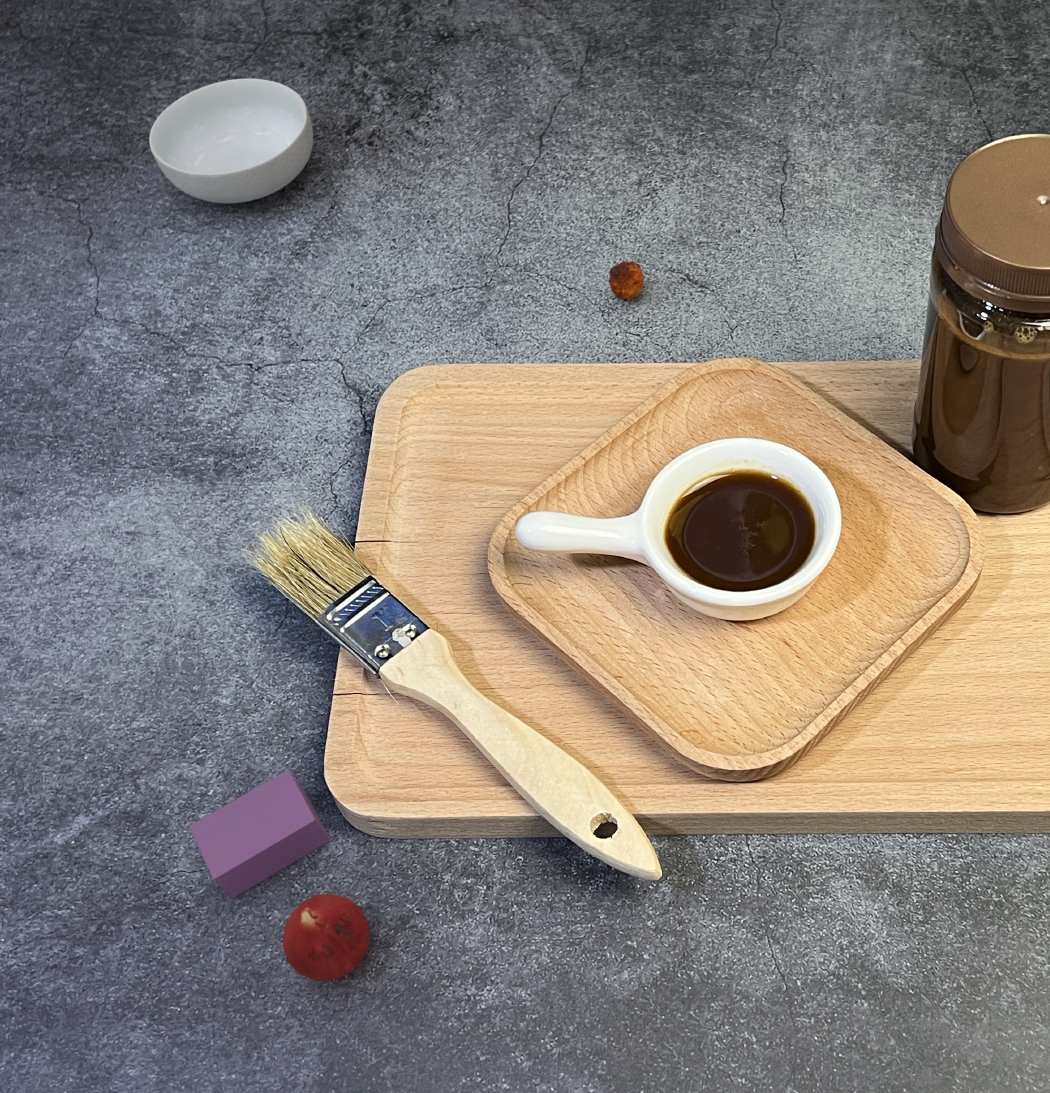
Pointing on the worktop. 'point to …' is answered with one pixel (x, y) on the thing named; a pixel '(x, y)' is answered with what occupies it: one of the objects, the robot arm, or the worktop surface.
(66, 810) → the worktop surface
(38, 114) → the worktop surface
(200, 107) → the cereal bowl
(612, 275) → the meatball
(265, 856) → the block
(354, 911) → the red rounded lump
